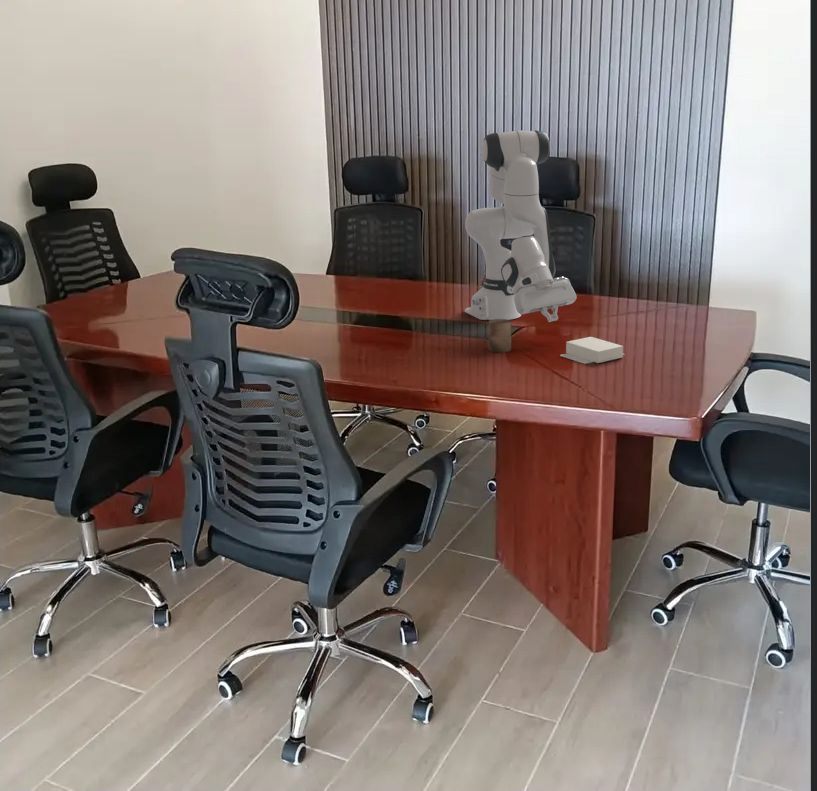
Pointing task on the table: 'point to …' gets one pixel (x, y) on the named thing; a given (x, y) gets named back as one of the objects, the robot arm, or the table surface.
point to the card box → (594, 349)
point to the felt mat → (577, 358)
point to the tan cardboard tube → (499, 335)
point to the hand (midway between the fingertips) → (553, 320)
